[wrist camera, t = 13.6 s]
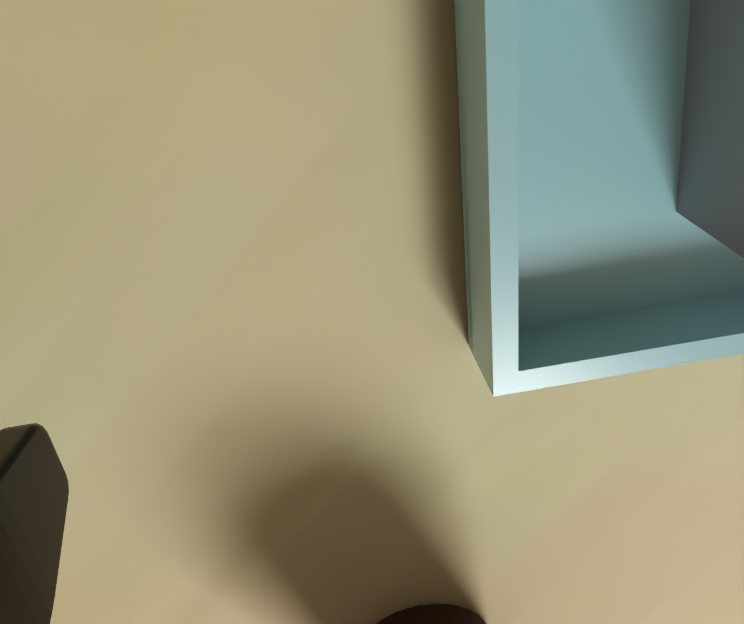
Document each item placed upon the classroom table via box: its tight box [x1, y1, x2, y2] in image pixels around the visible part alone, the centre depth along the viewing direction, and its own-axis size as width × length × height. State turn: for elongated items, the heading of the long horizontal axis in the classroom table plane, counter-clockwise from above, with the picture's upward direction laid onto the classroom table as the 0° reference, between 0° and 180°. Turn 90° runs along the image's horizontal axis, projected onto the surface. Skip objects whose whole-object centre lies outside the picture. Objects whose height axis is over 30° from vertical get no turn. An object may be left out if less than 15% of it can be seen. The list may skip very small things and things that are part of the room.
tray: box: [454, 0, 744, 397], centre depth 20 cm, size 15×15×3 cm
